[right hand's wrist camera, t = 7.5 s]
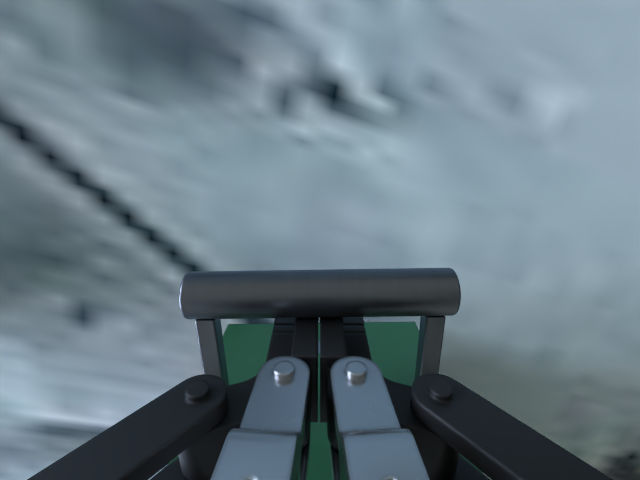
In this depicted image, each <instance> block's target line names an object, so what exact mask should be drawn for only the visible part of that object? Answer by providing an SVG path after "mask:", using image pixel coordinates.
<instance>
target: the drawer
mask: <svg viewBox="0 0 640 480" xmlns="http://www.w3.org/2000/svg"><path fill="white" fill-rule="evenodd" d="M460 299H461V292H460V284H459V280H458V277H457V275H456V273H455V271H454V270H453V269H451V268H408V269H340V270H272V271H204V272H188V273H187V274H185V276H184V277H183V279H182V282H181V286H180V293H179V303H180V310H181V313H182V315H183V316H184V317H185V318H187V319H196V320H195V323H196V329H197V335H198V341H199V347H200V353H201V359H202V365H203V371H204V374H210V375H215V376H218V377H220V378H221V379H223V380H224V382H225V383H226V386H228V385H232V384H236V383H240V382H244V381H246V380H249V379H251V378H252V377H254V376H256V375H257V374H258V372H259V370H260V368H261V367H262V365H263V364H264V363H265V362H266V358H267V354H268V349H269V344H270V340H271V335H272V331H273V326H274V324H229V325H228V326H227V328H226V330H225V333H224V335H223V336H222V329H221V321H220V319H240V318H311V317H382V316H421V320H420V330H418V328H417V325H416V323H415V322H364V326H365V330H366V335H367V340H368V345H369V349H370V354H371V359H372V361H373V362H374V363H376V364H377V365H378V367H379V368H380V370H381V372H382V375H383V377H385V378H387V379H389V380H391V381H394V382H397V383H401V384H405V385H409V386H412V384H413V382H414V380H415V379H416V378H418V377H419V376H421V375H424V374H438V371H439V363H440V356H441V348H442V340H443V333H444V325H445V316H452V315H455V314H456V313H457V312H458V310H459V306H460ZM310 444H311V448H310V458H309V467H308V476H307V480H333V476H332V467H331V458H330V446H329V445H330V442H329V440H328V435H327V422H320V323H318V422H311V430H310ZM459 455H460V456H461V457H462V458H463V459H465V460H466V461H467V462H468V463H470V464H471V465H472V466H473V467H475V468H476V469H477V470H478V471H480V472H481V473H482V471H481V470H480V469H478V468H477V467H476V466H475V465H473V464H472V463H471V462H469V461H468V460H467V459H466V458H464V457H463V456H462V455H461V454H459ZM178 457H179V456H177V457H176V458H174V459H173V460H172V461H170V462H169V464H170V463H172V462H173V461H174V460H175V459H177V458H178ZM169 464H168V465H169ZM482 474H483V473H482Z"/></svg>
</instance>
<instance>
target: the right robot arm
mask: <svg viewBox="0 0 640 480" xmlns="http://www.w3.org/2000/svg"><path fill="white" fill-rule="evenodd" d="M311 422H318V317H311V318H275V321H274V326H273V331H272V335H271V340H270V344H269V349H268V354H267V358H266V362H265V363H264V364H263V365H262V367H261V368H260V370H259V372H258V374H257V375H256V376H254V377H252V378H251V379H249V380H246V381H244V382H240V383H236V384H232V385H228V386H226V383H225V382H224V380H223V379H221V378H220V377H218V376H215V375H210V374H204V375H197V376H194V377H191V378H189V379H186V380H185V381H183V382H181V383H180V384H178V385H177V386H175V387H173V388H172V389H170V390H169V391H167V392H165V393H164V394H162V395H161V396H159V397H158V398H156V399H154V400H153V401H151V402H150V403H148V404H146V405H145V406H143V407H142V408H140V409H139V410H137V411H135V412H134V413H132V414H131V415H129V416H127V417H126V418H124V419H123V420H121V421H119V422H118V423H116V424H115V425H113V426H112V427H110V428H108V429H107V430H105V431H104V432H102V433H100V434H99V435H97V436H96V437H94V438H93V439H91V440H89V441H88V442H86V443H85V444H83V445H81V446H80V447H78V448H77V449H75V450H74V451H72V452H70V453H69V454H67V455H66V456H64V457H62V458H61V459H59V460H58V461H56V462H54V463H53V464H51V465H50V466H48V467H47V468H45V469H43V470H42V471H40V472H39V473H37V474H35V475H34V476H32V477H31V478H29V479H28V480H148V479H149V478H150V477H152V476H153V475H154V474H155V473H157V472H158V471H159V470H160V469H162V468H163V467H164V466H165V465H167V464H168V463H169V462H170V461H172V460H173V459H174V458H176V457H177V456H179V457H178V458H177V459H175V460H174V461H173V462H172V463H170V464H169V465H168V466H167V467H165V468H164V469H163V470H162V471H160V472H159V473H158V474H157V475H155V476H154V477H153V478H152V479H150V480H307V476H308V467H309V458H310V448H311V444H310V430H311ZM320 422H327V435H328V440H329V442H330V445H329V446H330V458H331V467H332V476H333V480H490V479H488V478H487V477H486V476H485V475H483V474H482V473H481V472H480V471H478V470H477V469H476V468H475V467H473V466H472V465H471V464H470V463H468V462H467V461H466V460H465V459H463V458H462V457H461V456H460V455H459V454H461V455H462V456H463V457H464V458H466V459H467V460H468V461H469V462H471V463H472V464H473V465H475V466H476V467H477V468H478V469H480V470H481V471H482V472H483V473H485V474H486V475H487V476H488V477H490V478H491V479H492V480H612V479H611V478H609V477H608V476H606V475H605V474H603V473H601V472H600V471H598V470H597V469H595V468H593V467H592V466H590V465H589V464H587V463H585V462H584V461H582V460H581V459H579V458H578V457H576V456H574V455H573V454H571V453H570V452H568V451H566V450H565V449H563V448H562V447H560V446H559V445H557V444H555V443H554V442H552V441H551V440H549V439H547V438H546V437H544V436H543V435H541V434H540V433H538V432H536V431H535V430H533V429H532V428H530V427H528V426H527V425H525V424H524V423H522V422H520V421H519V420H517V419H516V418H514V417H513V416H511V415H509V414H508V413H506V412H505V411H503V410H501V409H500V408H498V407H497V406H495V405H494V404H492V403H490V402H489V401H487V400H486V399H484V398H482V397H481V396H479V395H478V394H476V393H475V392H473V391H471V390H470V389H468V388H467V387H465V386H463V385H462V384H460V383H459V382H457V381H455V380H454V379H452V378H450V377H447V376H444V375H440V374H424V375H421V376H419V377H418V378H416V379H415V380H414V382H413V384H412V386H409V385H405V384H401V383H397V382H394V381H391V380H389V379H387V378H385V377H383V375H382V372H381V370H380V368H379V367H378V365H377V364H376V363H374V362H373V361H372V359H371V354H370V349H369V345H368V340H367V335H366V330H365V326H364V321H363V317H320Z"/></svg>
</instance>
